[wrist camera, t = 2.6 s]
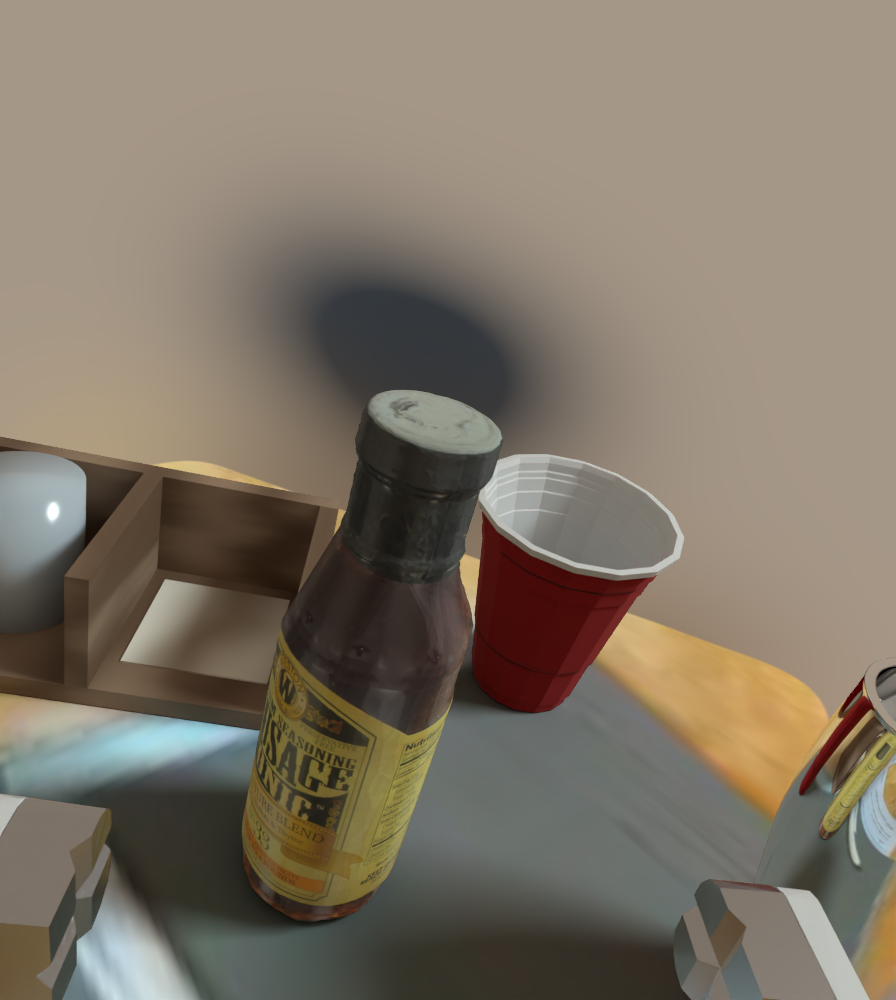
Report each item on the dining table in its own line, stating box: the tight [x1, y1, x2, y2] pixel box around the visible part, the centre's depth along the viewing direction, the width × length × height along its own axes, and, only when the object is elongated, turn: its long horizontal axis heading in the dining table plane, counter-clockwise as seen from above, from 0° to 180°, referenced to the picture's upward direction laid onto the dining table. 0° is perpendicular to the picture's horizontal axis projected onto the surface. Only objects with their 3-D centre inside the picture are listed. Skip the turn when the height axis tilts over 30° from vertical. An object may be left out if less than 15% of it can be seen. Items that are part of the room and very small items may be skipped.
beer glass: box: [753, 658, 896, 1000], centre depth 25 cm, size 7×7×15 cm
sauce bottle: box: [242, 390, 503, 922], centre depth 25 cm, size 6×6×20 cm
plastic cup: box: [472, 454, 684, 713], centre depth 40 cm, size 11×11×12 cm
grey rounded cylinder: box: [0, 451, 86, 634], centre depth 36 cm, size 6×6×7 cm
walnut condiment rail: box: [0, 437, 340, 730], centre depth 37 cm, size 20×11×7 cm, turn 92°
